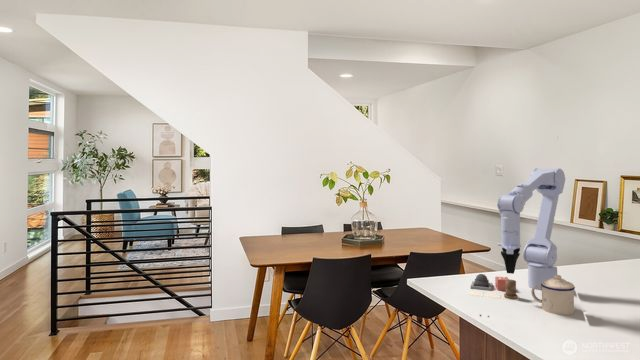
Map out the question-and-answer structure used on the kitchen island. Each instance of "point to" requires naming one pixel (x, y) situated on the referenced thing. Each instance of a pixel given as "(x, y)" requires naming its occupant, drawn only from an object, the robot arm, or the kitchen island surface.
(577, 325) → the kitchen island surface
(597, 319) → the kitchen island surface
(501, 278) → the die
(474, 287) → the board
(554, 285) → the teacup with lid
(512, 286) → the flanged wooden peg
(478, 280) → the dark gray round knob
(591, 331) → the kitchen island surface
